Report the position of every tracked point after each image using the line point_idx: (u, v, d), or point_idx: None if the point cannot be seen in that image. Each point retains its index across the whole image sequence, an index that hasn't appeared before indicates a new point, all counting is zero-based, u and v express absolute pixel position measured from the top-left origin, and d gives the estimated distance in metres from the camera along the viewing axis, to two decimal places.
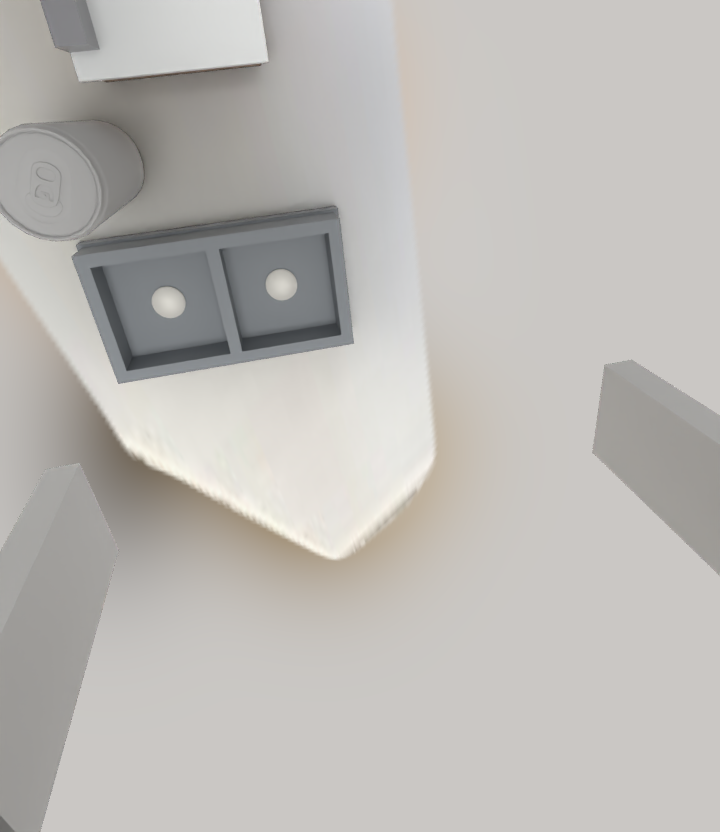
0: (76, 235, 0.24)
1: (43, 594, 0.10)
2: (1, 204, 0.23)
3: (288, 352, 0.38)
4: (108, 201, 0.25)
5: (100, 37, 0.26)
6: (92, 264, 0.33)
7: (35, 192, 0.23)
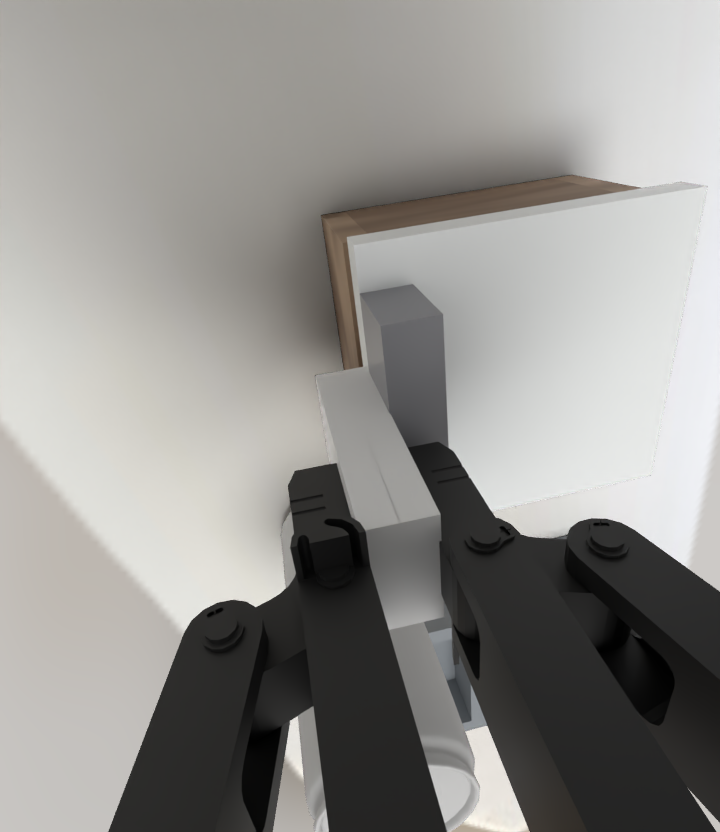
0: None
1: None
2: None
3: None
4: None
5: None
6: None
7: None
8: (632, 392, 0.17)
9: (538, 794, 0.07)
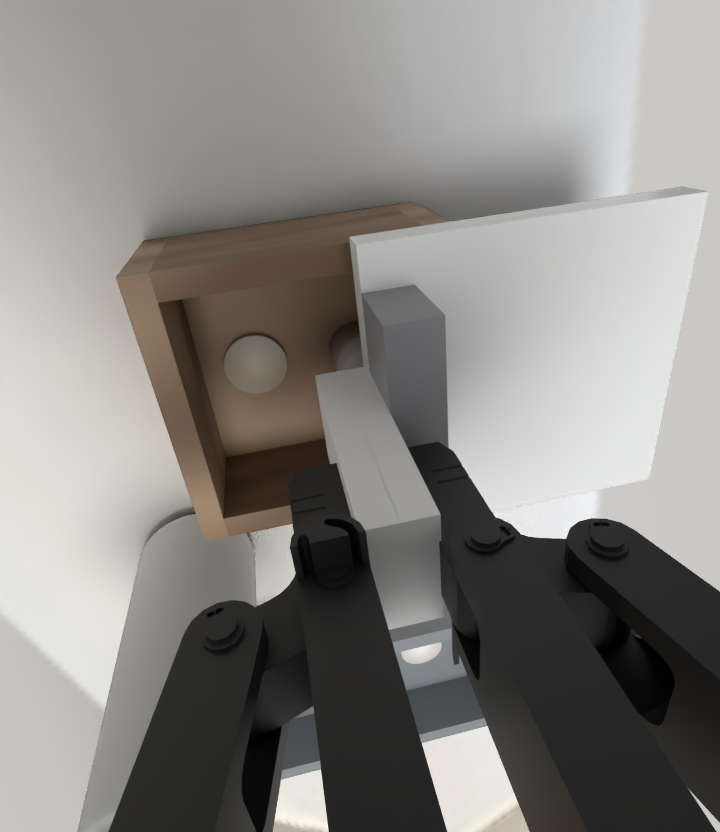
0: None
1: None
2: None
3: (430, 739, 0.28)
4: None
5: None
6: None
7: None
8: (631, 395, 0.17)
9: (538, 794, 0.07)
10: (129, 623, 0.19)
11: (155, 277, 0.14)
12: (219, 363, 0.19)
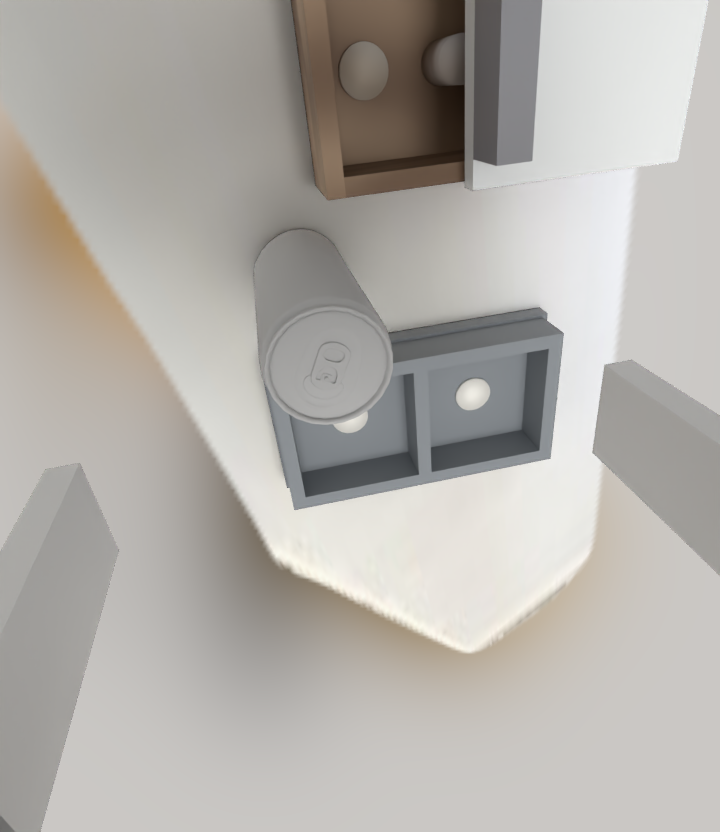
0: (352, 417, 0.20)
1: (44, 594, 0.10)
2: (274, 389, 0.19)
3: (480, 471, 0.34)
4: None
5: None
6: None
7: (317, 374, 0.19)
8: (668, 68, 0.22)
9: None
10: (264, 273, 0.24)
11: None
12: (334, 69, 0.24)
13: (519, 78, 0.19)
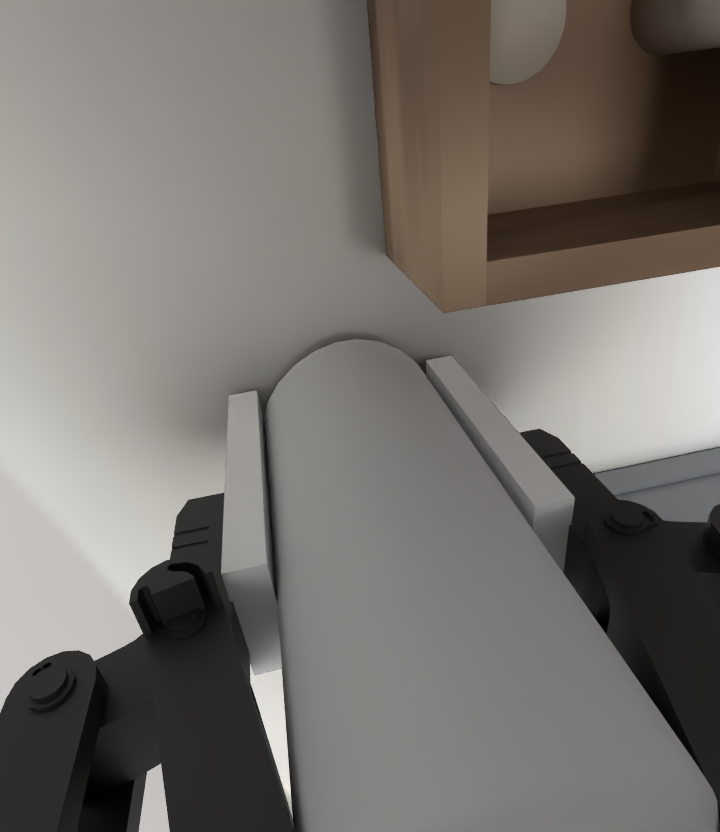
0: None
1: (265, 481, 0.12)
2: None
3: None
4: None
5: None
6: None
7: None
8: None
9: None
10: (293, 474, 0.10)
11: None
12: None
13: None
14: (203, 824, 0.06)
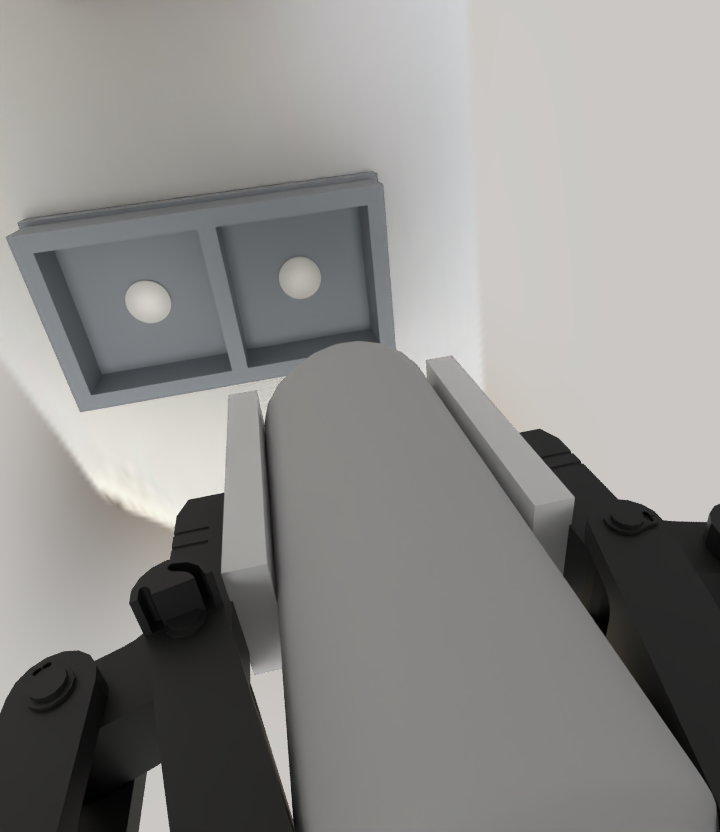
0: None
1: (266, 481, 0.12)
2: None
3: None
4: None
5: None
6: (36, 248, 0.23)
7: None
8: None
9: None
10: (294, 476, 0.10)
11: None
12: None
13: None
14: (203, 824, 0.06)
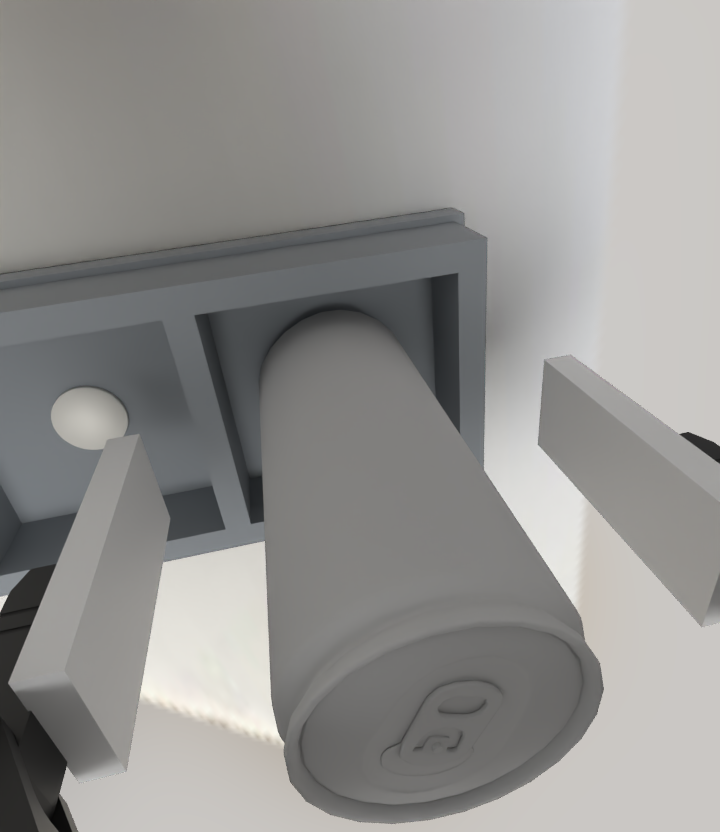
0: (487, 802, 0.09)
1: (120, 547, 0.11)
2: (310, 777, 0.08)
3: None
4: None
5: None
6: None
7: (416, 743, 0.08)
8: None
9: None
10: (280, 411, 0.13)
11: None
12: None
13: None
14: None
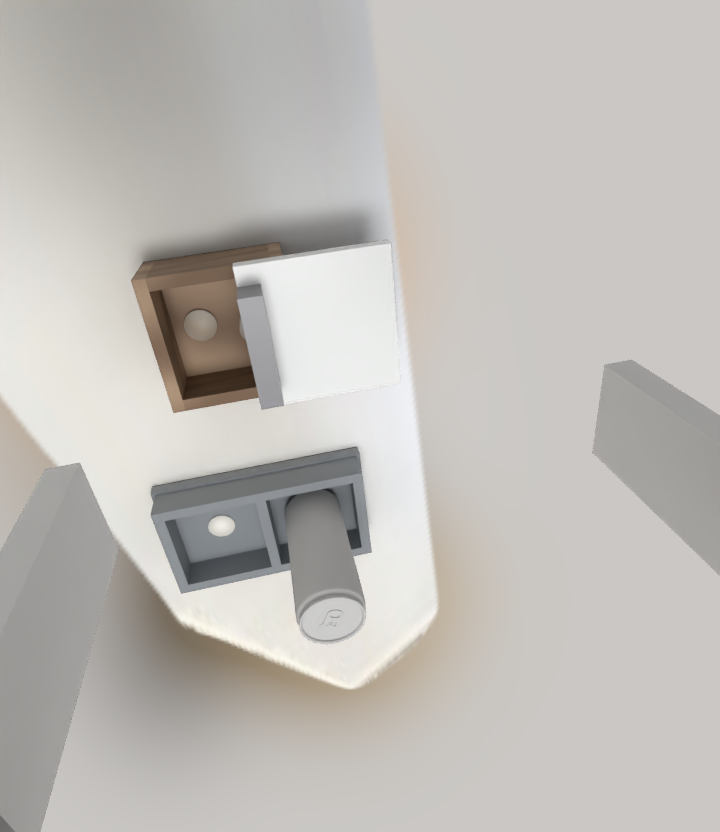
0: (344, 639, 0.37)
1: (44, 594, 0.10)
2: (304, 630, 0.36)
3: None
4: None
5: (282, 381, 0.35)
6: (166, 518, 0.41)
7: (326, 623, 0.36)
8: (379, 337, 0.35)
9: None
10: (294, 536, 0.41)
11: (148, 280, 0.32)
12: (181, 324, 0.37)
13: (265, 368, 0.32)
14: None
